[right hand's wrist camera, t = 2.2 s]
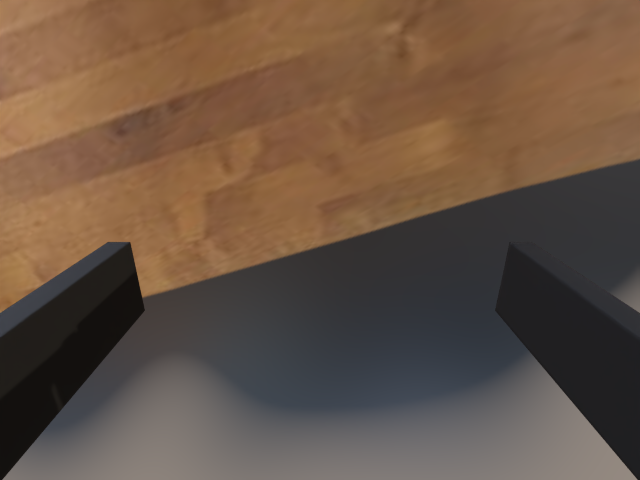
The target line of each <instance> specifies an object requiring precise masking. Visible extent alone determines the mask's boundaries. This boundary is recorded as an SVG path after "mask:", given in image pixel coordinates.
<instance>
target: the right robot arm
mask: <svg viewBox="0 0 640 480" xmlns="http://www.w3.org/2000/svg"><path fill="white" fill-rule="evenodd" d="M144 311H145V309H144V304H143V300H142V295H141V290H140V286H139V281H138V276H137V272H136V267H135V262H134V258H133V253H132V248H131V244H130V242H107V243H106V244H104V245H103V246H101V247H100V248H98V249H97V250H95V251H94V252H92V253H91V254H89V255H88V256H86V257H85V258H83V259H82V260H80V261H79V262H77V263H76V264H74V265H73V266H71V267H70V268H68V269H66V270H65V271H63V272H62V273H60V274H59V275H57V276H56V277H54V278H53V279H51V280H50V281H48V282H47V283H45V284H44V285H42V286H41V287H39V288H38V289H36V290H35V291H33V292H32V293H30V294H29V295H27V296H26V297H24V298H22V299H21V300H19V301H18V302H16V303H15V304H13V305H12V306H10V307H9V308H7V309H6V310H4V311H3V312H1V313H0V480H2V479H3V478H4V477H5V476H6V475H7V473H8V472H9V471H10V470H11V469H12V468H13V466H14V465H15V464H16V463H17V462H18V460H19V459H20V458H21V457H22V456H23V454H24V453H25V452H26V451H27V450H28V449H29V447H30V446H31V445H32V444H33V443H34V441H35V440H36V439H37V438H38V437H39V435H40V434H41V433H42V432H43V431H44V430H45V428H46V427H47V426H48V425H49V424H50V422H51V421H52V420H53V419H54V418H55V416H56V415H57V414H58V413H59V412H60V411H61V409H62V408H63V407H64V406H65V405H66V403H67V402H68V401H69V400H70V399H71V397H72V396H73V395H74V394H75V393H76V391H77V390H78V389H79V388H80V387H81V386H82V384H83V383H84V382H85V381H86V380H87V378H88V377H89V376H90V375H91V374H92V373H93V371H94V370H95V369H96V368H97V367H98V365H99V364H100V363H101V362H102V361H103V359H104V358H105V357H106V356H107V355H108V354H109V352H110V351H111V350H112V349H113V348H114V346H115V345H116V344H117V343H118V342H119V341H120V339H121V338H122V337H123V336H124V335H125V333H126V332H127V331H128V330H129V329H130V327H131V326H132V325H133V324H134V323H135V321H136V320H137V319H138V318H139V317H140V316H141V314H142V313H143V312H144ZM495 311H496V312H497V313H498V314H499V316H500V317H501V318H502V319H503V320H504V322H505V323H506V324H507V325H508V326H509V327H510V329H511V330H512V331H513V332H514V333H515V335H516V336H517V337H518V338H519V339H520V341H521V342H522V343H523V344H524V345H525V346H526V348H527V349H528V350H529V351H530V352H531V354H532V355H533V356H534V357H535V358H536V359H537V361H538V362H539V363H540V364H541V365H542V367H543V368H544V369H545V370H546V371H547V373H548V374H549V375H550V376H551V377H552V378H553V380H554V381H555V382H556V383H557V384H558V386H559V387H560V388H561V389H562V390H563V392H564V393H565V394H566V395H567V396H568V397H569V399H570V400H571V401H572V402H573V403H574V405H575V406H576V407H577V408H578V409H579V411H580V412H581V413H582V414H583V415H584V416H585V418H586V419H587V420H588V421H589V422H590V424H591V425H592V426H593V427H594V428H595V430H596V431H597V432H598V433H599V434H600V435H601V437H602V438H603V439H604V440H605V441H606V443H607V444H608V445H609V446H610V447H611V448H612V450H613V451H614V452H615V453H616V454H617V456H618V457H619V458H620V459H621V460H622V462H623V463H624V464H625V465H626V466H627V468H628V469H629V470H630V471H631V472H632V473H633V475H634V476H635V477H636V478H637V479H638V480H640V313H639V312H637V311H636V310H634V309H633V308H631V307H630V306H628V305H627V304H625V303H624V302H622V301H621V300H619V299H618V298H616V297H614V296H613V295H611V294H610V293H608V292H607V291H605V290H604V289H602V288H601V287H599V286H598V285H596V284H595V283H593V282H592V281H590V280H589V279H587V278H586V277H584V276H583V275H581V274H580V273H578V272H577V271H575V270H574V269H572V268H570V267H569V266H567V265H566V264H564V263H563V262H561V261H560V260H558V259H557V258H555V257H554V256H552V255H551V254H549V253H548V252H546V251H545V250H543V249H542V248H540V247H539V246H537V245H536V244H534V243H532V242H510V244H509V248H508V253H507V258H506V262H505V267H504V272H503V277H502V281H501V286H500V290H499V295H498V300H497V305H496V309H495Z"/></svg>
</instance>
